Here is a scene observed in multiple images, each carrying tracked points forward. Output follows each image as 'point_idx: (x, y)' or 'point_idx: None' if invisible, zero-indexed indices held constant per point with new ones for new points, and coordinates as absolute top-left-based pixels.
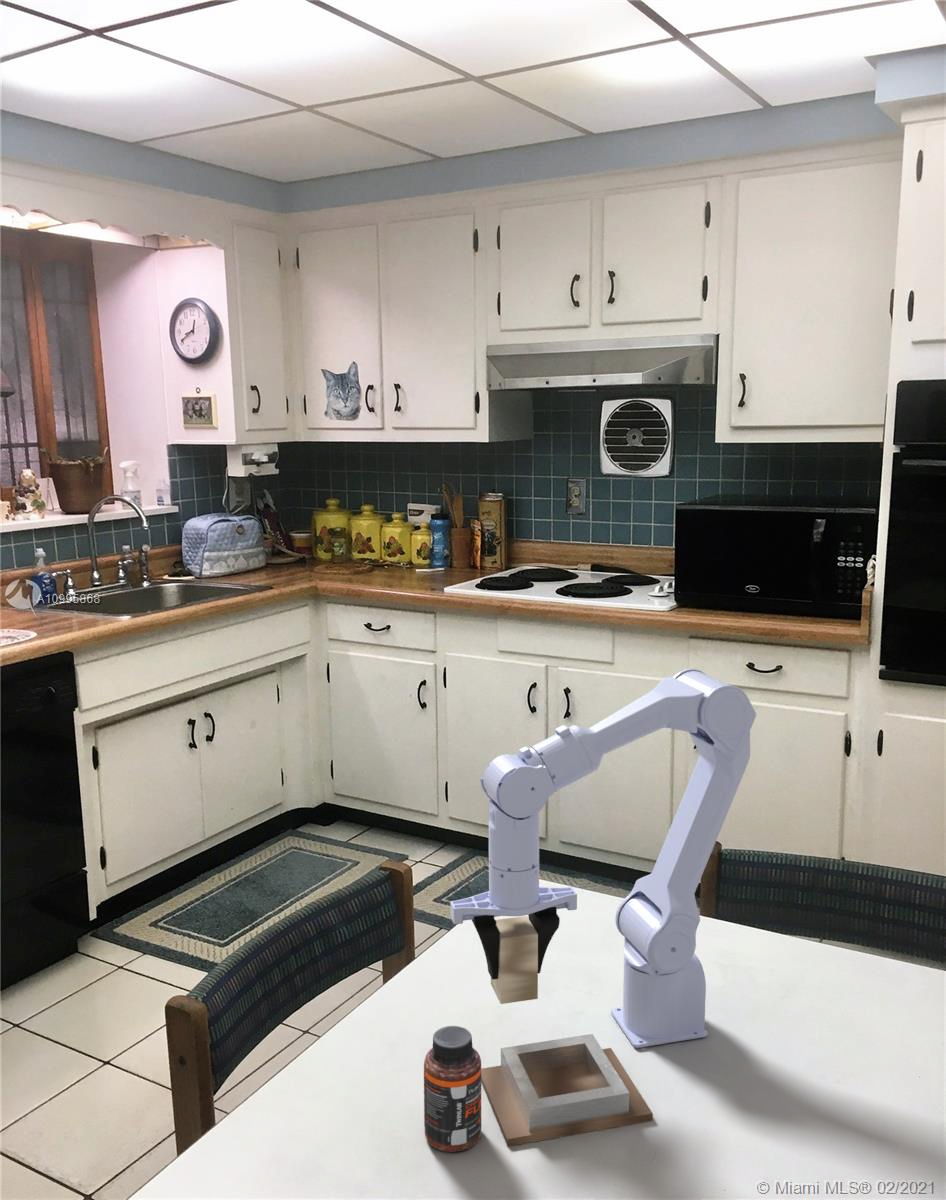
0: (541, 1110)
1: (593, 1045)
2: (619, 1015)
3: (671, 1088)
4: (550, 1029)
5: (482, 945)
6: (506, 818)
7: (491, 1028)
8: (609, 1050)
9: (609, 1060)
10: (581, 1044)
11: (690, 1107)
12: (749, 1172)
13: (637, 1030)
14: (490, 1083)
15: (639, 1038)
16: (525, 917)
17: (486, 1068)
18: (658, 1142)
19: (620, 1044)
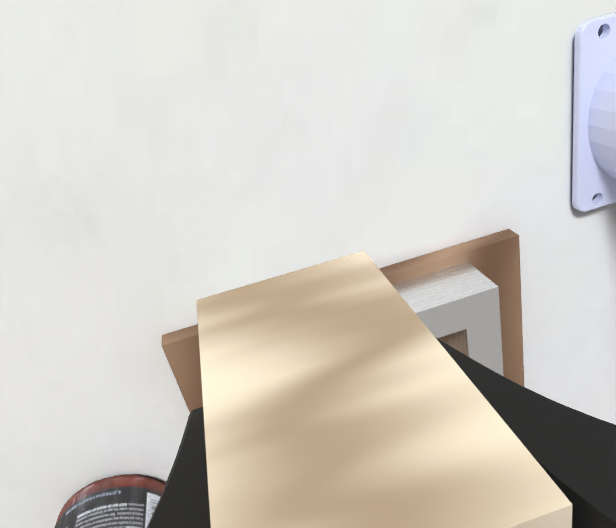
0: None
1: (485, 336)
2: (593, 65)
3: (586, 335)
4: (377, 114)
5: (149, 524)
6: None
7: (186, 107)
8: (512, 247)
9: (499, 284)
10: (456, 330)
11: (594, 382)
12: None
13: (611, 173)
14: (198, 393)
15: (599, 183)
16: (553, 526)
17: (184, 340)
18: None
19: (544, 185)
